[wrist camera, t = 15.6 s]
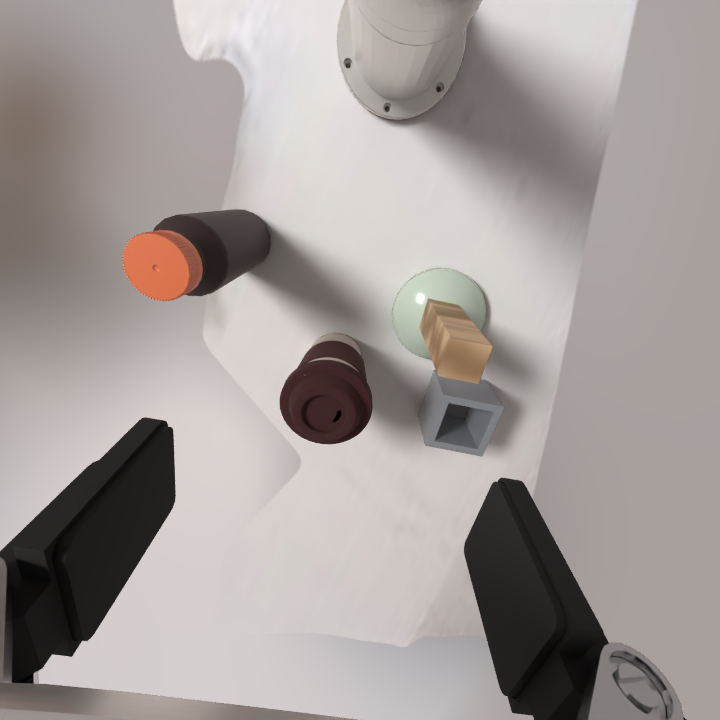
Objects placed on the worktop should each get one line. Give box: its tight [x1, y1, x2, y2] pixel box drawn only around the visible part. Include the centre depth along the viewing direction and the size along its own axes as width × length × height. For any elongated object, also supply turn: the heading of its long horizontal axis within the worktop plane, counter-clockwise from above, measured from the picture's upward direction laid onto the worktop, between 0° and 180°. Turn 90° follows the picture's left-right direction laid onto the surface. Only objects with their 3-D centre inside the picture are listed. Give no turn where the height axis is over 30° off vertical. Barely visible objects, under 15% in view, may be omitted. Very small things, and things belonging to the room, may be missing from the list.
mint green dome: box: [392, 268, 486, 359], centre depth 47 cm, size 12×12×1 cm
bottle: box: [123, 210, 270, 301], centre depth 35 cm, size 7×7×20 cm
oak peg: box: [419, 298, 493, 384], centre depth 40 cm, size 4×4×14 cm
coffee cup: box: [280, 333, 372, 444], centre depth 43 cm, size 10×10×15 cm
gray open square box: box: [418, 370, 504, 456], centre depth 50 cm, size 8×8×7 cm
